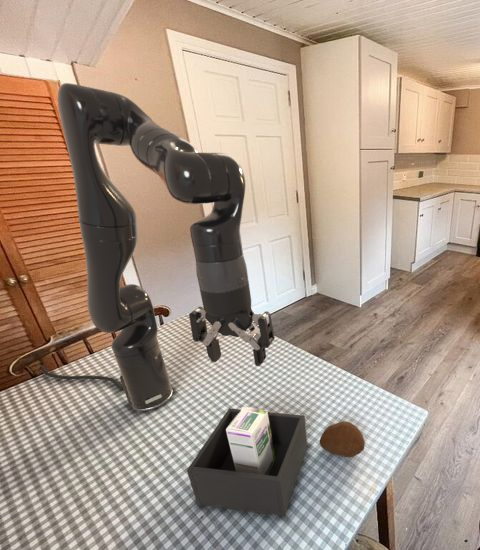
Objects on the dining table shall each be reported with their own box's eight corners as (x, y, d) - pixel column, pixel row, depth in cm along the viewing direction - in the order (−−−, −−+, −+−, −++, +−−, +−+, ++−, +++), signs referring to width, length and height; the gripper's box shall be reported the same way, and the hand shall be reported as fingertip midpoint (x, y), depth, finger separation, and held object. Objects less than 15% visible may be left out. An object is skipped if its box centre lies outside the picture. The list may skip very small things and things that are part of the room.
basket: (197, 505, 58) (186, 470, 55) (235, 439, 72) (229, 408, 68) (285, 516, 57) (279, 481, 53) (307, 447, 70) (304, 415, 67)
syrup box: (262, 486, 61) (253, 433, 56) (236, 480, 62) (224, 428, 57) (276, 460, 66) (268, 410, 61) (251, 455, 67) (242, 405, 62)
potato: (324, 432, 74) (323, 411, 71) (366, 437, 73) (367, 415, 70) (316, 459, 67) (315, 436, 65) (363, 465, 66) (363, 441, 64)
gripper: (274, 275, 53) (282, 352, 59) (198, 271, 55) (213, 346, 61) (254, 293, 46) (265, 378, 52) (168, 287, 48) (189, 371, 54)
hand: (237, 361), depth 56 cm, fingers open, 8 cm apart
